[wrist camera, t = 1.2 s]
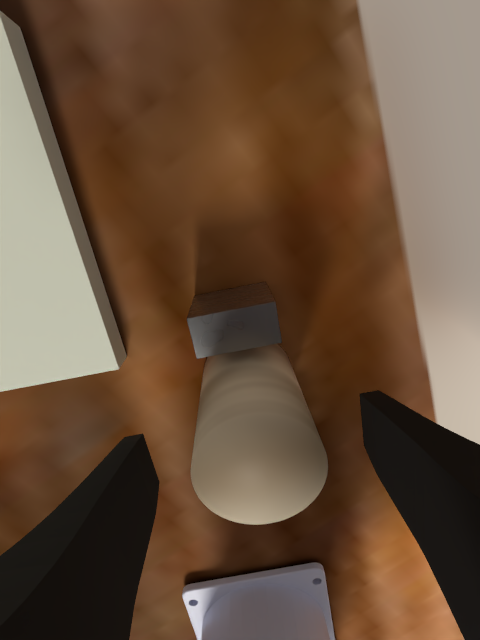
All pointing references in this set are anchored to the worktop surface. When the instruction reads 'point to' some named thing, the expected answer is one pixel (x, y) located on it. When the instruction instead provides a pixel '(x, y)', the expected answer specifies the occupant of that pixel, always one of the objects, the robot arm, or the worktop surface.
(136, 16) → the worktop surface
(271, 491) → the birch peg
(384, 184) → the worktop surface
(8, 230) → the board
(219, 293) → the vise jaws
